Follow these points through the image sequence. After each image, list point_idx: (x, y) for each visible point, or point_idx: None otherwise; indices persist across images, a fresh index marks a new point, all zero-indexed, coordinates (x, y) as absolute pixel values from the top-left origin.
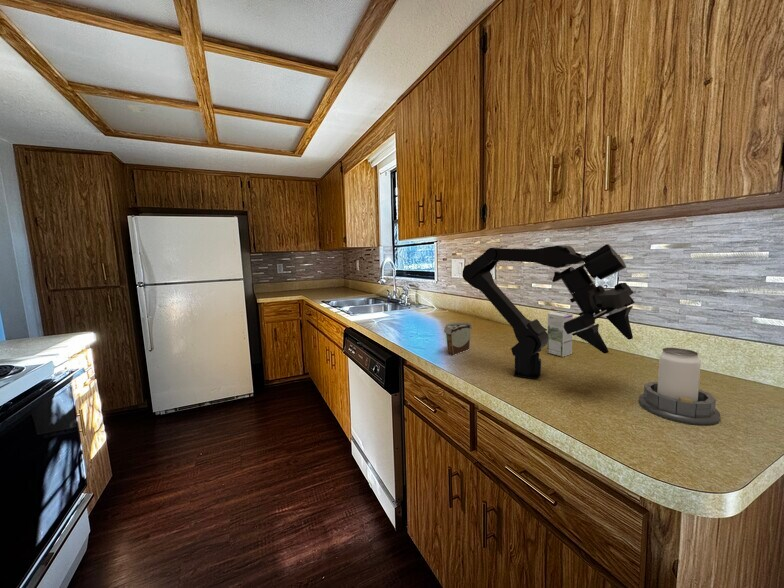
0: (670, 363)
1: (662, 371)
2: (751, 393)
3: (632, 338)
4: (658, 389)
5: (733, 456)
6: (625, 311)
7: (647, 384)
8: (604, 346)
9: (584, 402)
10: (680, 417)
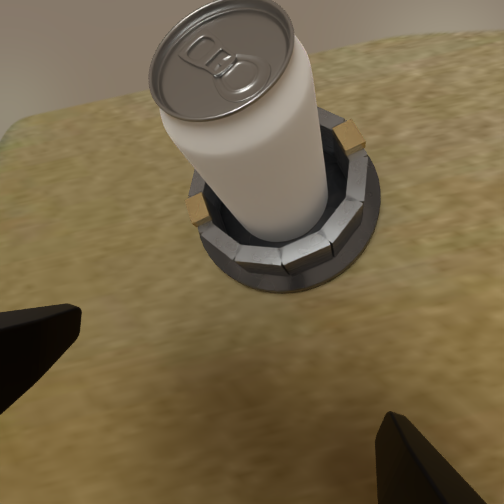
0: (311, 101)
1: (299, 166)
2: (70, 136)
3: (76, 306)
4: (298, 219)
5: (478, 68)
6: None
7: (265, 259)
8: (439, 462)
9: (482, 445)
10: (373, 170)
